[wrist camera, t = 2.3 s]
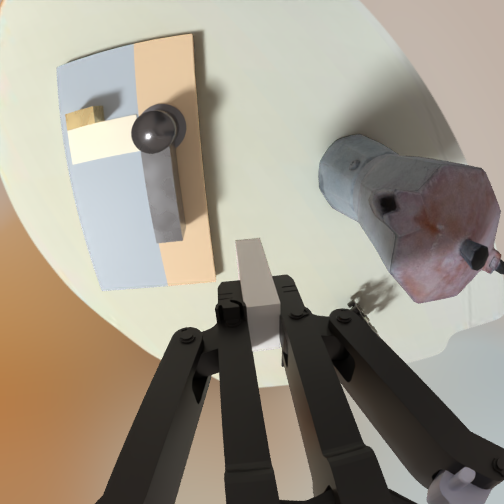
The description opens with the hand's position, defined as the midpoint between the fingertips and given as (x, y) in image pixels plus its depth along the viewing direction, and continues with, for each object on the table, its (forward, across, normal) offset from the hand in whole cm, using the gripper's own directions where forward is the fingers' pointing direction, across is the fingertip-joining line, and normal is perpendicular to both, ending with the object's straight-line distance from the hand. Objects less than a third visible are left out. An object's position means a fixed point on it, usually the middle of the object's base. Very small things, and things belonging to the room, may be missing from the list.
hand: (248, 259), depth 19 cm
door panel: (+13, -10, +4) cm, 17 cm away
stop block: (+12, -14, +10) cm, 21 cm away
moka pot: (+13, +13, +2) cm, 19 cm away
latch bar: (+12, -6, +4) cm, 14 cm away
